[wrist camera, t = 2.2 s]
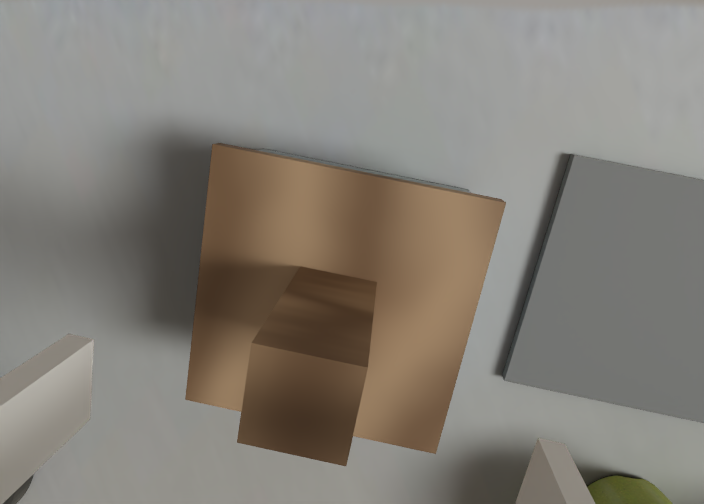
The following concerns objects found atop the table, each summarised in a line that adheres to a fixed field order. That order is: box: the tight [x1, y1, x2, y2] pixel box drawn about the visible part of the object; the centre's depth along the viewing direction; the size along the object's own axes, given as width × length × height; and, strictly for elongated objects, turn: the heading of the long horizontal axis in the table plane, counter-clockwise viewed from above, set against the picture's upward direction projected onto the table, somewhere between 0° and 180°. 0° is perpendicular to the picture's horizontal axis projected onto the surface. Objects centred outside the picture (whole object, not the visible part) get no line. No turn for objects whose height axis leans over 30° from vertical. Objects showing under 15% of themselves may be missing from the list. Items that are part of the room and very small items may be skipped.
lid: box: [185, 143, 506, 466], centre depth 19 cm, size 13×13×9 cm
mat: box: [502, 154, 704, 423], centre depth 28 cm, size 14×14×1 cm
